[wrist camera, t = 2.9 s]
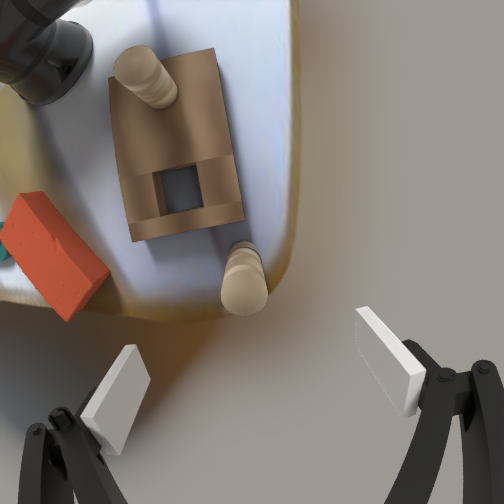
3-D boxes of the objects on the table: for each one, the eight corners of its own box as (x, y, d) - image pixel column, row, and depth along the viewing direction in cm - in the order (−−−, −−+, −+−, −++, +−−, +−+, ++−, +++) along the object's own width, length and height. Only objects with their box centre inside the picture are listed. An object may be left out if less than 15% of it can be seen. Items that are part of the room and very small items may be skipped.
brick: (20, 230, 36) (-2, 237, 30) (42, 189, 35) (18, 192, 29) (84, 307, 39) (66, 323, 33) (112, 271, 38) (93, 284, 32)
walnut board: (142, 236, 37) (94, 264, 23) (119, 86, 31) (69, 51, 18) (244, 216, 36) (245, 235, 23) (216, 60, 31) (204, 4, 18)
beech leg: (231, 273, 38) (225, 320, 25) (225, 242, 37) (215, 276, 24) (262, 267, 38) (272, 312, 24) (256, 237, 37) (264, 268, 24)
